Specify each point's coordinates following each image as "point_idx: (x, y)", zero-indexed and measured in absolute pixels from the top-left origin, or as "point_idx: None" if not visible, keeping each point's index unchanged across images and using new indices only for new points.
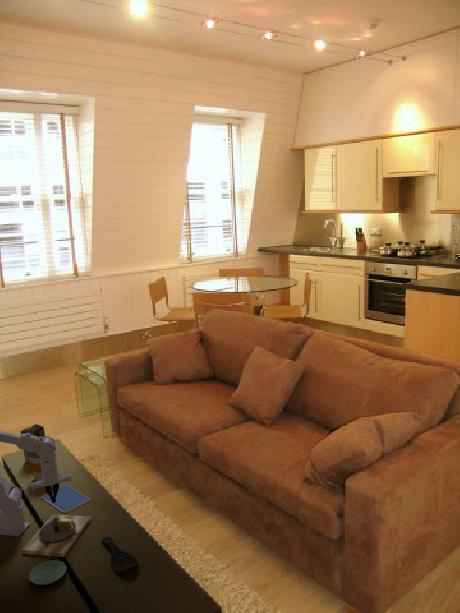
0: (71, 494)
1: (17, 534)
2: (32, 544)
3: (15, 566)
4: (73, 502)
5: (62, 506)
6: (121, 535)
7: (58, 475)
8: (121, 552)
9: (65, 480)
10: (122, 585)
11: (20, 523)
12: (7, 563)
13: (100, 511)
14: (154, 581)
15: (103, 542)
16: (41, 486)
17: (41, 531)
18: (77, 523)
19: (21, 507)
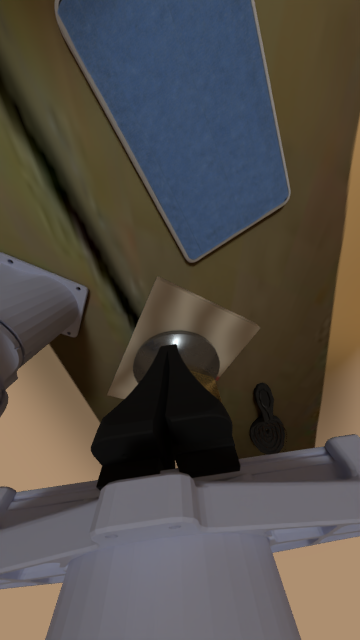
0: (229, 92)
1: (70, 331)
2: (125, 385)
3: (108, 409)
4: (227, 201)
5: (185, 218)
6: (289, 383)
7: (285, 527)
8: (272, 420)
9: (300, 468)
10: (251, 449)
11: (60, 332)
12: (90, 402)
13: (288, 290)
14: (283, 449)
15: (256, 401)
16: (84, 493)
17: (138, 368)
18: (223, 345)
19: (20, 353)
